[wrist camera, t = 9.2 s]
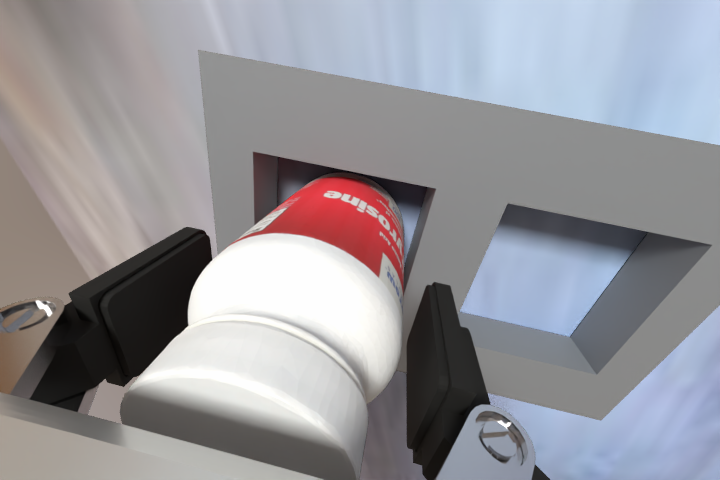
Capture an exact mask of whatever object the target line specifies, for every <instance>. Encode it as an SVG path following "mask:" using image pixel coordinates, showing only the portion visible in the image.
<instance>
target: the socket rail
mask: <svg viewBox="0 0 720 480" xmlns="http://www.w3.org/2000/svg"><path fill="white" fill-rule="evenodd" d="M198 55H199V65H200V75H201V86H202V96H203V106H204V117H205V127H206V137H207V148H208V158H209V168H210V179H211V189H212V199H213V210H214V220H215V230H216V240H217V251H218V255H219V254H220V253H221V252H222V251H223V250H224V249H225V248H227V247H228V246H229V245H230V244H231V243H233V242H234V241H235V240H236V239H238V238H239V237H240V236H242V235H243V234H244V233H246V232H247V231H248V230H250V229H251V228H252V227H253V226H254V225H256V224H257V223H258V222H259V221H260V220H262V219H263V218H264V217H266V216H267V215H268V214H269V213H271V212H272V211H273V210H274V209H276V208H277V174H278V157H283V158H288V159H292V160H297V161H302V162H307V163H312V164H317V165H322V166H327V167H332V168H337V169H342V170H347V171H351V172H356V173H361V174H366V175H371V176H376V177H381V178H386V179H391V180H396V181H401V182H406V183H410V184H415V185H420V186H425V187H427V190H426V193H425V197H424V200H423V204H422V207H421V211H420V214H419V218H418V221H417V225H416V228H415V231H414V235H413V238H412V242H411V245H410V249H409V252H408V256H407V259H406V263H405V266H404V286H403V336H402V349H401V355H400V359H399V363H398V366H397V369H396V371H400V372H404V373H407V340H408V336H409V334H410V331H411V328H412V325H413V322H414V319H415V316H416V313H417V311H418V308H419V305H420V302H421V299H422V296H423V293H424V291H425V288H426V286H427V285H432V284H433V282H437V283H442V284H446V285H450V286H451V290H452V294H453V298H454V302H455V306H456V310H457V314H458V318H459V322H460V326H461V327H466V328H468V329H469V331H470V333H471V337H472V340H473V344H474V348H475V351H476V355H477V358H478V362H479V365H480V369H481V372H482V376H483V380H484V383H485V387H486V390H487V393H490V394H494V395H499V396H503V397H507V398H511V399H515V400H519V401H523V402H527V403H531V404H535V405H540V406H544V407H548V408H552V409H556V410H560V411H564V412H568V413H572V414H576V415H581V416H585V417H589V418H593V419H597V420H602V419H603V418H604V417H605V416H606V415H607V414H608V413H609V412H610V411H611V410H612V409H613V408H614V407H615V406H616V405H617V404H618V403H619V402H620V401H622V400H623V399H624V398H625V397H626V396H627V395H628V394H629V393H630V392H631V391H632V390H633V389H634V388H635V387H636V386H637V385H638V384H639V383H640V382H641V381H642V380H643V379H644V378H645V377H646V376H647V375H648V374H649V373H650V372H651V371H652V370H653V369H654V368H655V367H656V366H657V365H659V364H660V363H661V362H662V361H663V360H664V359H665V358H666V357H667V356H668V355H669V354H670V353H671V352H672V351H673V350H674V349H675V348H676V347H677V346H678V345H679V344H680V343H681V342H682V341H683V340H684V339H685V338H686V337H687V336H688V335H689V334H690V333H691V332H692V331H693V330H695V329H696V328H697V327H698V326H699V325H700V324H701V323H702V322H703V321H704V320H705V319H706V318H707V317H708V316H709V315H710V314H711V313H712V312H713V311H714V310H715V309H716V308H717V307H718V306H719V305H720V145H714V144H709V143H704V142H698V141H693V140H687V139H682V138H676V137H671V136H665V135H660V134H654V133H649V132H644V131H638V130H633V129H627V128H622V127H616V126H611V125H605V124H600V123H594V122H589V121H583V120H578V119H573V118H567V117H562V116H556V115H551V114H545V113H540V112H534V111H529V110H523V109H518V108H513V107H507V106H502V105H496V104H491V103H485V102H480V101H474V100H469V99H463V98H458V97H452V96H447V95H442V94H436V93H431V92H425V91H420V90H414V89H409V88H403V87H398V86H392V85H387V84H382V83H376V82H371V81H365V80H360V79H354V78H349V77H343V76H338V75H332V74H327V73H321V72H316V71H311V70H305V69H300V68H294V67H289V66H283V65H278V64H272V63H267V62H261V61H256V60H251V59H245V58H240V57H234V56H229V55H223V54H218V53H212V52H207V51H201V50H198ZM508 203H509V204H514V205H519V206H524V207H529V208H533V209H538V210H543V211H548V212H553V213H558V214H563V215H568V216H573V217H578V218H583V219H588V220H592V221H597V222H602V223H607V224H612V225H617V226H622V227H627V228H632V229H637V230H642V231H647V232H648V233H647V235H646V236H645V237H644V239H643V240H642V241H641V243H640V244H639V245H638V247H637V248H636V249H635V251H634V252H633V253H632V255H631V256H630V257H629V259H628V260H627V261H626V263H625V264H624V266H623V267H622V268H621V270H620V271H619V272H618V274H617V275H616V276H615V278H614V279H613V280H612V282H611V283H610V284H609V286H608V287H607V288H606V290H605V291H604V292H603V294H602V295H601V296H600V298H599V299H598V300H597V302H596V303H595V304H594V306H593V307H592V309H591V310H590V311H589V313H588V314H587V315H586V317H585V318H584V319H583V321H582V322H581V323H580V325H579V326H578V327H577V329H576V330H575V331H574V333H573V334H572V335H571V337H567V336H563V335H559V334H554V333H550V332H545V331H541V330H537V329H532V328H528V327H524V326H519V325H515V324H510V323H506V322H502V321H497V320H493V319H488V318H484V317H480V316H475V315H471V314H467V313H462V312H459V311H460V309H461V307H462V305H463V302H464V300H465V298H466V296H467V293H468V291H469V289H470V287H471V284H472V282H473V280H474V278H475V275H476V273H477V271H478V269H479V267H480V264H481V262H482V260H483V258H484V255H485V253H486V251H487V249H488V246H489V244H490V242H491V240H492V237H493V235H494V233H495V231H496V228H497V226H498V224H499V222H500V219H501V217H502V215H503V213H504V210H505V208H506V206H507V204H508Z"/></svg>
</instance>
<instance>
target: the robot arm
mask: <svg viewBox="0 0 720 480" xmlns="http://www.w3.org/2000/svg"><path fill="white" fill-rule="evenodd" d="M211 261H212V254H211V245H210V238H209V236H208V235H206V232H205V231H203V230H200V229H195V228H191V227H186V228H183V229H182V230H180V231H178V232H176V233H174V234H173V235H171V236H169V237H167V238H166V239H164V240H162V241H160V242H158V243H157V244H155V245H153V246H151V247H150V248H148V249H146V250H144V251H142V252H141V253H139V254H137V255H135V256H134V257H132V258H130V259H128V260H127V261H125V262H123V263H121V264H119V265H118V266H116V267H114V268H112V269H111V270H109V271H107V272H105V273H103V274H102V275H100V276H98V277H96V278H95V279H93V280H91V281H89V282H87V283H86V284H84V285H82V286H81V287H79V288H77V289H75V290H73V291H72V292H70V293H69V296H70V298H71V300H72V302H70V303H69V304H67V305H64V302H63V301H62V300H60V299H58V298H53V297H37V298H32V299H26V300H23V301H19V302H15V303H12V304H10V305H7V306H5V307H2V308H0V480H324V479H320V478H317V477H313V476H309V475H306V474H302V473H299V472H295V471H291V470H288V469H284V468H281V467H277V466H273V465H270V464H266V463H263V462H259V461H255V460H252V459H248V458H245V457H241V456H237V455H234V454H230V453H226V452H223V451H219V450H215V449H212V448H208V447H204V446H201V445H197V444H193V443H190V442H186V441H182V440H179V439H175V438H171V437H168V436H164V435H160V434H156V433H153V432H149V431H145V430H142V429H138V428H134V427H131V426H127V425H123V424H120V423H116V422H112V421H108V420H104V419H100V418H97V417H93V416H89V415H88V413H89V410H90V407H91V405H92V402H93V400H94V397H95V394H96V392H97V389H98V386H99V383H101V382H102V381H103V380H104V379H105V378H106V380H107V382H108V383H111V384H115V385H119V386H123V387H124V386H125V385H126V384H127V383H128V382H129V381H130V380H131V379H132V378H133V377H137V376H139V375H140V374H141V373H142V372H143V371H144V370H145V369H146V368H147V367H148V366H149V365H150V364H151V363H152V362H153V361H154V360H155V359H156V358H157V357H158V356H159V354H160V353H161V352H162V351H163V350H164V349H165V348H166V347H167V345H168V344H169V343H170V342H171V341H172V340H173V339H174V338H175V337H176V336H178V335H179V334H181V332H182V331H184V330H185V328H186V327H187V326H188V306H189V300H190V296H191V291H192V289H193V287H194V285H195V283H196V281H197V279H198V277H199V276H200V274H201V273H202V271H203V270H204V269H205V268H206V266H207V265H208V264H209V263H210V262H211ZM407 447H408V448H409V449H413V463H416V464H419V465H422V469H423V475H424V476H425V478H426V479H427V480H550V479H549V478H548V477H547V476H546V475H545V474H544V473H543V472H542V471H541V470H540V469H539V468H538V467H537V466H536V465H535V451H534V447H533V444H532V441H531V440H530V438H529V436H528V434H527V432H526V431H525V429H524V428H523V427H522V426H521V425H520V423H519V422H518V421H517V420H516V419H515V418H513V417H512V416H511V415H510V414H509V413H507V412H505V411H504V410H502V409H500V408H498V407H495V406H492V405H491V404H490V401H489V397H488V394H487V390H486V387H485V383H484V380H483V376H482V372H481V369H480V365H479V362H478V358H477V355H476V351H475V348H474V344H473V340H472V337H471V333H470V331H469V329H468V328H466V327H461V326H460V322H459V318H458V314H457V310H456V306H455V302H454V298H453V294H452V290H451V286H450V285H446V284H442V283H437V282H433V284H432V285H427V286H426V288H425V291H424V293H423V296H422V299H421V302H420V305H419V308H418V311H417V313H416V316H415V319H414V322H413V325H412V328H411V331H410V334H409V336H408V340H407Z"/></svg>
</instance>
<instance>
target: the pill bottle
mask: <svg viewBox="0 0 720 480" xmlns="http://www.w3.org/2000/svg"><path fill="white" fill-rule="evenodd" d="M403 286H404V227H403V220H402V216H401V213H400V211H399V208H398V206H397V205H396V203H395V201H394V200H393V198H392V197H391V196H390V195H389V193H388V192H387V191H386V190H385V189H384V188H382V187H381V186H380V185H379V184H377V183H376V182H374V181H372V180H370V179H369V178H366V177H364V176H361V175H358V174H353V173H345V172H340V173H331V174H327V175H323V176H321V177H318V178H316V179H314V180H313V181H311V182H310V183H308V184H307V185H305V186H304V187H303V188H301V189H300V190H299V191H297V192H296V193H295V194H294V195H292V196H291V197H290V198H288V199H287V200H286V201H285V202H283V203H282V204H281V205H279V206H278V207H277V208H276V209H274V210H273V211H272V212H271V213H269V214H268V215H267V216H266V217H264V218H263V219H262V220H260V221H259V222H258V223H257V224H256V225H254V226H253V227H252V228H251V229H250V230H248V231H247V232H246V233H244V234H243V235H242V236H240V237H239V238H238V239H236V240H235V241H234V242H233V243H231V244H230V245H229V246H228V247H227V248H225V249H224V250H223V251H222V252H221V253H220V254H219V255H218V256H217V257H215V258H214V259H213V260H212V261H211V262H210V263H209V264H208V265H207V266H206V268H205V269H204V270H203V271H202V273H201V274H200V276H199V277H198V279H197V281H196V283H195V285H194V287H193V289H192V291H191V296H190V300H189V306H188V325H189V326H188V327H187V328H186V329H185V330H184V331H182V332H181V334H179V335H178V336H176V337H175V338H174V339H173V340H172V341H171V342H170V343H169V344H168V345H167V347H166V348H165V349H164V350H163V351H162V352H161V353H160V354H159V356H158V357H157V358H156V359H155V360H154V361H153V362H152V363H151V364H150V366H149V367H148V368H147V369H146V370H145V371H144V372H143V373H142V374H141V375H140V377H139V378H138V379H137V380H136V381H135V382H134V383H133V384H132V385H131V386H130V387H129V389H128V390H127V392H126V393H125V395H124V397H123V400H122V403H121V409H120V415H121V421H122V424H123V425H127V426H131V427H134V428H138V429H142V430H145V431H149V432H153V433H156V434H160V435H164V436H168V437H171V438H175V439H179V440H182V441H186V442H190V443H193V444H197V445H201V446H204V447H208V448H212V449H215V450H219V451H223V452H226V453H230V454H234V455H237V456H241V457H245V458H248V459H252V460H255V461H259V462H263V463H266V464H270V465H273V466H277V467H281V468H284V469H288V470H291V471H295V472H299V473H302V474H306V475H309V476H313V477H317V478H320V479H324V480H359V478H360V472H361V465H362V459H363V453H364V447H365V441H366V436H367V429H368V411H367V404H368V403H370V402H371V401H372V400H374V399H375V398H376V397H377V396H378V395H379V394H380V393H381V392H382V391H383V390H384V389H385V388H386V387H387V385H388V384H389V382H390V380H391V379H392V377H393V375H394V373H395V371H396V369H397V366H398V363H399V359H400V355H401V349H402V336H403Z"/></svg>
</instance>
